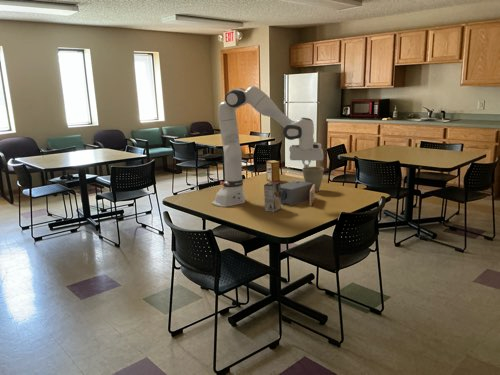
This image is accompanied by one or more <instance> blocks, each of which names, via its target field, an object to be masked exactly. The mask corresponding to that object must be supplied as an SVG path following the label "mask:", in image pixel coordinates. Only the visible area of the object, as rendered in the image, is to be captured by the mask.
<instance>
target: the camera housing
mask: <svg viewBox="0 0 500 375" xmlns="http://www.w3.org/2000/svg"><path fill="white" fill-rule="evenodd" d="M312 186H313V183H309V182H305V181H304V180H303V181H302V180H292V181H289V182H286V183H282V184H281V183H280V187H281V204H284V205H289V206H293V205H297V204H299V203H303V202H306V201H310V189H311V188H312Z"/></svg>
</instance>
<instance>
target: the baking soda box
mask: <svg viewBox="0 0 500 375" xmlns="http://www.w3.org/2000/svg"><path fill="white" fill-rule="evenodd" d="M265 162H266V163H265V164H266V165H265V166H266V168H265V169H266V172H265V173H266V181H267V182H268V183H270V182H280V181H281V179H280V161H277V160H266V161H265ZM280 183H281V182H280Z"/></svg>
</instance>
